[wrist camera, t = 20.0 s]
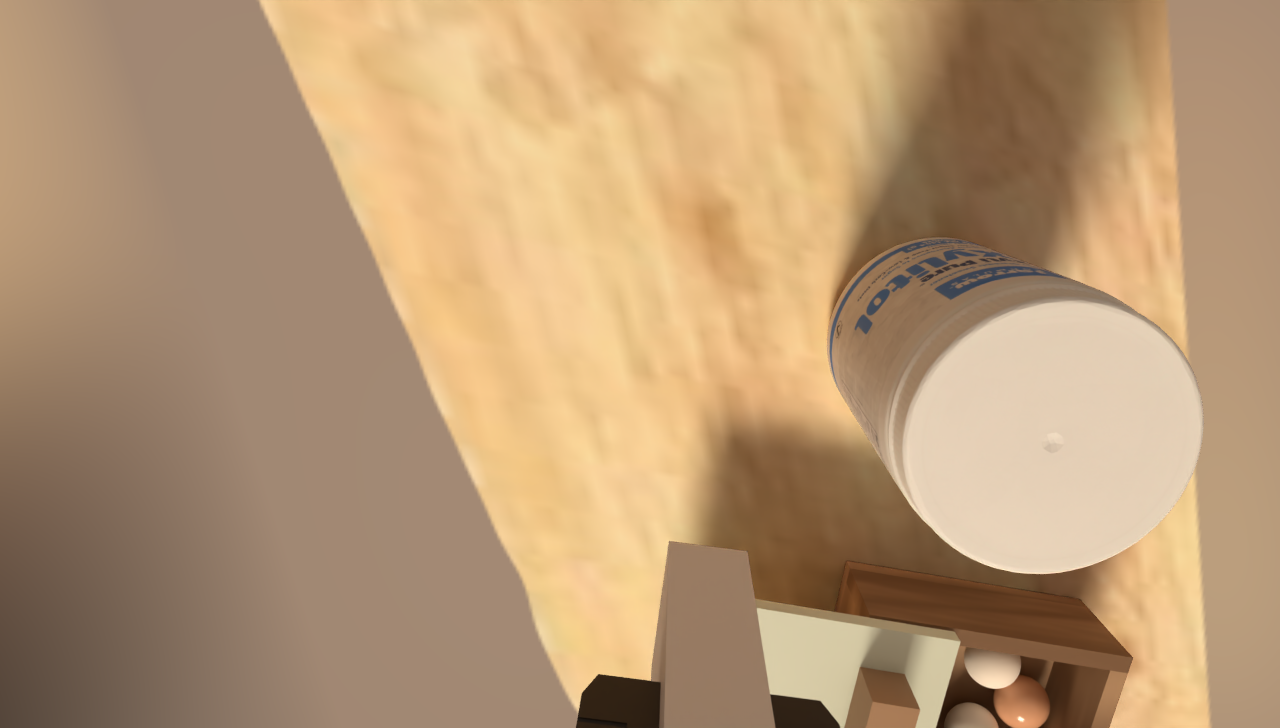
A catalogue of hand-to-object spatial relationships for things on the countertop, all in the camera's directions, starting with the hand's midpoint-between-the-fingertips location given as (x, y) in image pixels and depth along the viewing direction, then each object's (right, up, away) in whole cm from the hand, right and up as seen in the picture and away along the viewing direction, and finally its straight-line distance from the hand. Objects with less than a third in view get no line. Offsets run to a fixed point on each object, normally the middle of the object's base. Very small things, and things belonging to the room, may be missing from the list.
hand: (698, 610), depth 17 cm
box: (+14, -11, +29) cm, 34 cm away
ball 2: (+16, -13, +28) cm, 35 cm away
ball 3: (+18, -12, +28) cm, 35 cm away
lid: (+6, -11, +23) cm, 26 cm away
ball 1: (+16, -9, +27) cm, 33 cm away
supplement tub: (+12, +6, +25) cm, 28 cm away
